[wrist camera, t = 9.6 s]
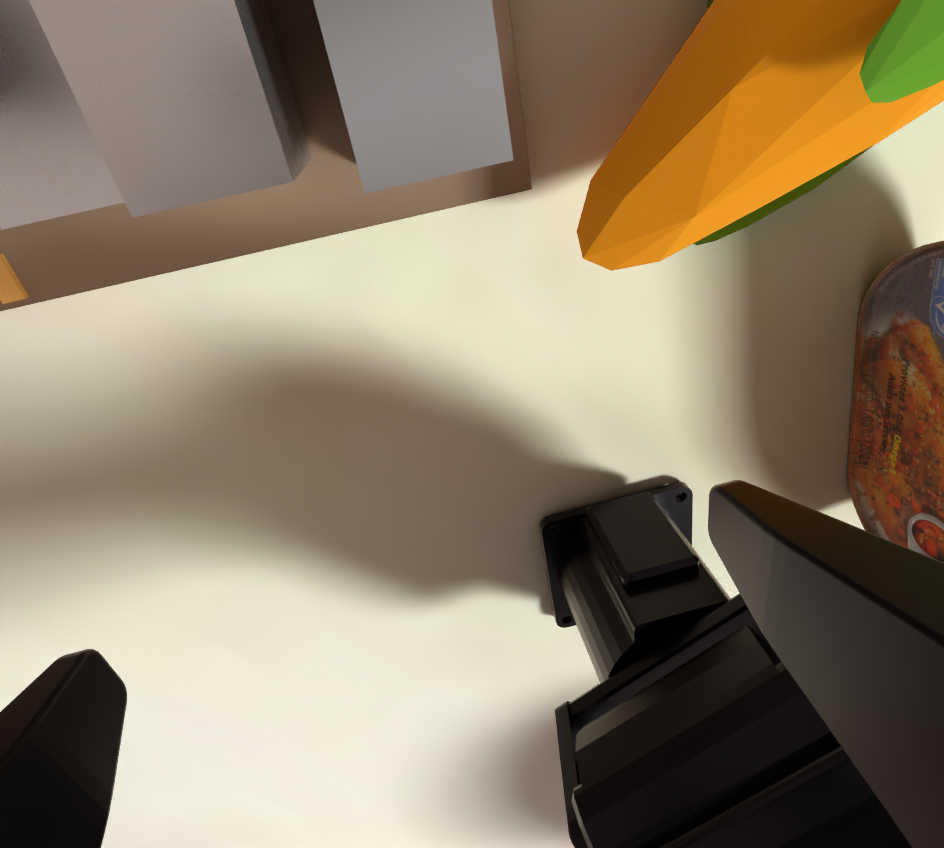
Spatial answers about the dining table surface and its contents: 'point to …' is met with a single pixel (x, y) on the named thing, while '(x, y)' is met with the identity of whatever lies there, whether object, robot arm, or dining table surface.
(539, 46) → the dining table surface
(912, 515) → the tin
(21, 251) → the press base
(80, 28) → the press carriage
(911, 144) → the dining table surface
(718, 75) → the corn
